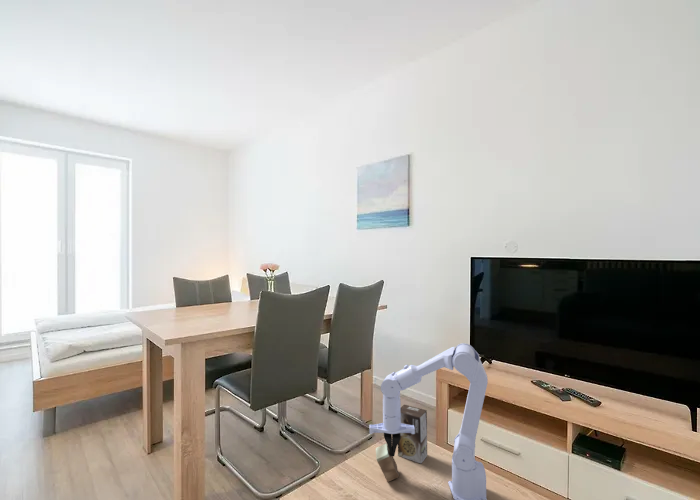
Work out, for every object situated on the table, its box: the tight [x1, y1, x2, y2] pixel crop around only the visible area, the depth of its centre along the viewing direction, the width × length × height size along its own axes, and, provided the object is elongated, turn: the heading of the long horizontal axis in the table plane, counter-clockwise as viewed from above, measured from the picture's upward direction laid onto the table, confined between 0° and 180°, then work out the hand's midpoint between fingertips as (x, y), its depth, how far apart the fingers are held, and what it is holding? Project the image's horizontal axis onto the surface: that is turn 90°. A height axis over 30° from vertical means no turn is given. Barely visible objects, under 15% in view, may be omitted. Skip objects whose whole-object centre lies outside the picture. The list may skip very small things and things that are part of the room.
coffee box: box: [397, 404, 428, 464], centre depth 122 cm, size 9×6×16 cm
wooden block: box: [375, 442, 400, 483], centre depth 111 cm, size 4×6×8 cm, turn 178°
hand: (392, 454), depth 111 cm, fingers closed
